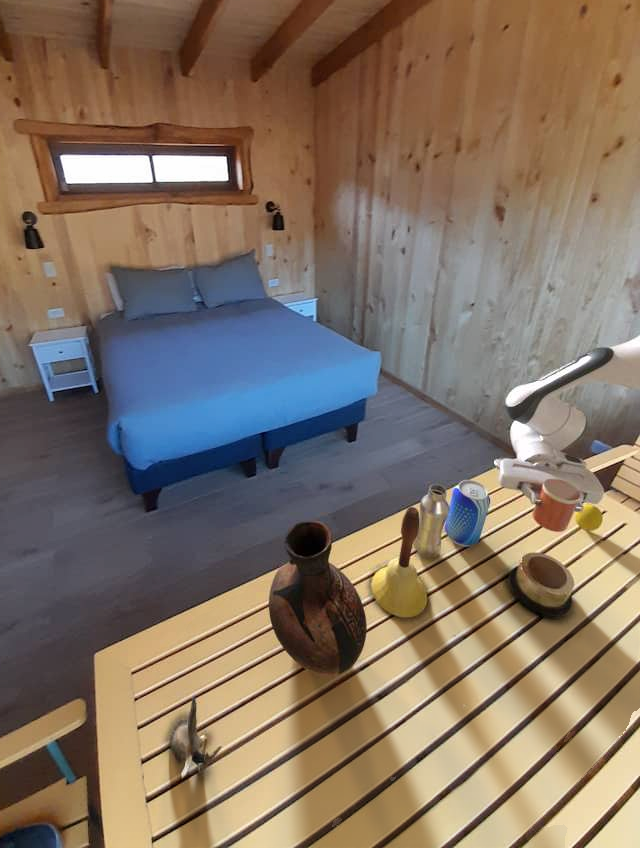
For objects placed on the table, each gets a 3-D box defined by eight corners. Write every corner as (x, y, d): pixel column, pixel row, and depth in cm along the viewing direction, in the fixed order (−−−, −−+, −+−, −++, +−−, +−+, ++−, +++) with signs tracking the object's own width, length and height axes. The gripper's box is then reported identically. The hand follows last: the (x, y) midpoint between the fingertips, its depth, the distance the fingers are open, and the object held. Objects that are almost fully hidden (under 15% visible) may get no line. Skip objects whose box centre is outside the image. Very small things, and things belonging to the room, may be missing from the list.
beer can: (436, 528, 106) (447, 483, 99) (460, 518, 109) (472, 473, 102) (461, 553, 99) (474, 506, 92) (486, 542, 102) (500, 495, 95)
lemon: (571, 517, 109) (580, 495, 105) (596, 526, 106) (607, 504, 102) (570, 530, 105) (580, 508, 101) (596, 540, 102) (607, 518, 98)
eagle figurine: (232, 741, 67) (202, 690, 72) (213, 752, 61) (182, 696, 66) (200, 782, 65) (172, 727, 71) (177, 797, 60) (148, 737, 65)
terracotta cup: (562, 511, 90) (574, 481, 86) (572, 535, 84) (586, 504, 80) (528, 505, 92) (539, 475, 88) (536, 528, 86) (548, 497, 82)
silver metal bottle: (419, 534, 105) (430, 475, 96) (444, 549, 100) (458, 489, 91) (406, 549, 101) (417, 489, 92) (431, 566, 96) (445, 505, 87)
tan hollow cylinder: (560, 575, 93) (570, 554, 90) (578, 626, 83) (589, 604, 80) (503, 563, 97) (510, 541, 93) (514, 610, 86) (522, 588, 83)
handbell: (389, 556, 99) (401, 479, 88) (437, 590, 91) (457, 510, 80) (360, 590, 91) (369, 510, 80) (409, 629, 83) (427, 547, 72)
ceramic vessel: (383, 668, 77) (401, 564, 64) (305, 722, 70) (307, 618, 56) (322, 580, 94) (326, 483, 80) (254, 616, 86) (246, 516, 73)
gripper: (496, 446, 98) (507, 485, 86) (592, 461, 93) (618, 504, 81) (490, 466, 101) (500, 507, 89) (584, 482, 96) (607, 527, 84)
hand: (557, 506), depth 85 cm, fingers closed on terracotta cup, 6 cm apart
